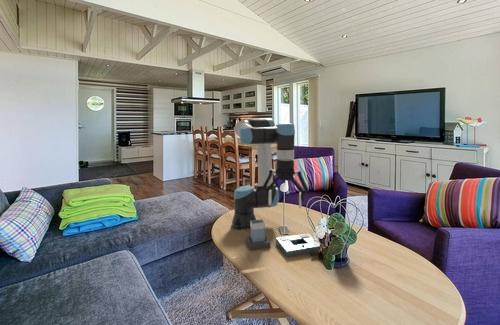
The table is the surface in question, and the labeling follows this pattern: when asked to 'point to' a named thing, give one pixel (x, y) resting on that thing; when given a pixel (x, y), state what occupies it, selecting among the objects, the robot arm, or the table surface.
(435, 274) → the table surface
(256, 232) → the plug
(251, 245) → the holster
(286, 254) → the port panel
